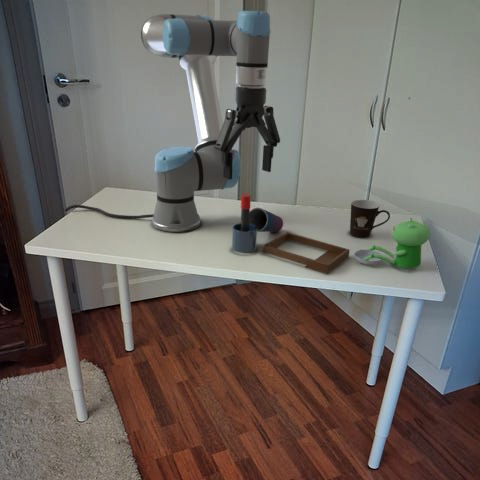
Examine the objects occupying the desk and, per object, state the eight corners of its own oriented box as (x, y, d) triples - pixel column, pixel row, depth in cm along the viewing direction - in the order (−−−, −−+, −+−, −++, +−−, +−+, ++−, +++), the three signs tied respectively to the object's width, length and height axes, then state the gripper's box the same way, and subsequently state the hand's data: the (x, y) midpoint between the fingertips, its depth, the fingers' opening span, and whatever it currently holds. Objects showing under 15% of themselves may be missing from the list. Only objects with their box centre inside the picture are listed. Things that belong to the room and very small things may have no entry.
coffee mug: (341, 234, 152) (345, 203, 147) (355, 227, 158) (360, 197, 152) (373, 244, 145) (379, 213, 140) (386, 237, 151) (393, 206, 146)
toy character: (359, 255, 141) (363, 212, 134) (424, 259, 136) (431, 215, 129) (357, 268, 133) (361, 224, 126) (425, 274, 128) (433, 227, 121)
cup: (286, 233, 149) (268, 230, 136) (266, 235, 152) (246, 232, 139) (285, 211, 149) (267, 206, 135) (265, 213, 152) (246, 208, 138)
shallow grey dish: (353, 265, 132) (354, 259, 131) (353, 254, 138) (354, 248, 137) (382, 269, 130) (383, 262, 129) (381, 257, 137) (383, 251, 136)
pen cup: (227, 250, 138) (227, 227, 134) (240, 243, 143) (241, 221, 139) (246, 257, 134) (248, 233, 131) (260, 249, 139) (261, 226, 136)
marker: (237, 248, 138) (239, 195, 130) (242, 245, 140) (244, 193, 131) (245, 250, 137) (247, 197, 128) (250, 247, 138) (252, 195, 130)
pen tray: (262, 253, 137) (263, 245, 135) (286, 239, 146) (287, 232, 145) (327, 274, 127) (328, 265, 125) (348, 257, 136) (349, 249, 135)
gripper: (220, 90, 106) (219, 184, 117) (298, 86, 120) (290, 171, 131) (200, 86, 111) (201, 178, 122) (277, 83, 125) (272, 165, 136)
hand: (247, 174), depth 127 cm, fingers open, 13 cm apart
